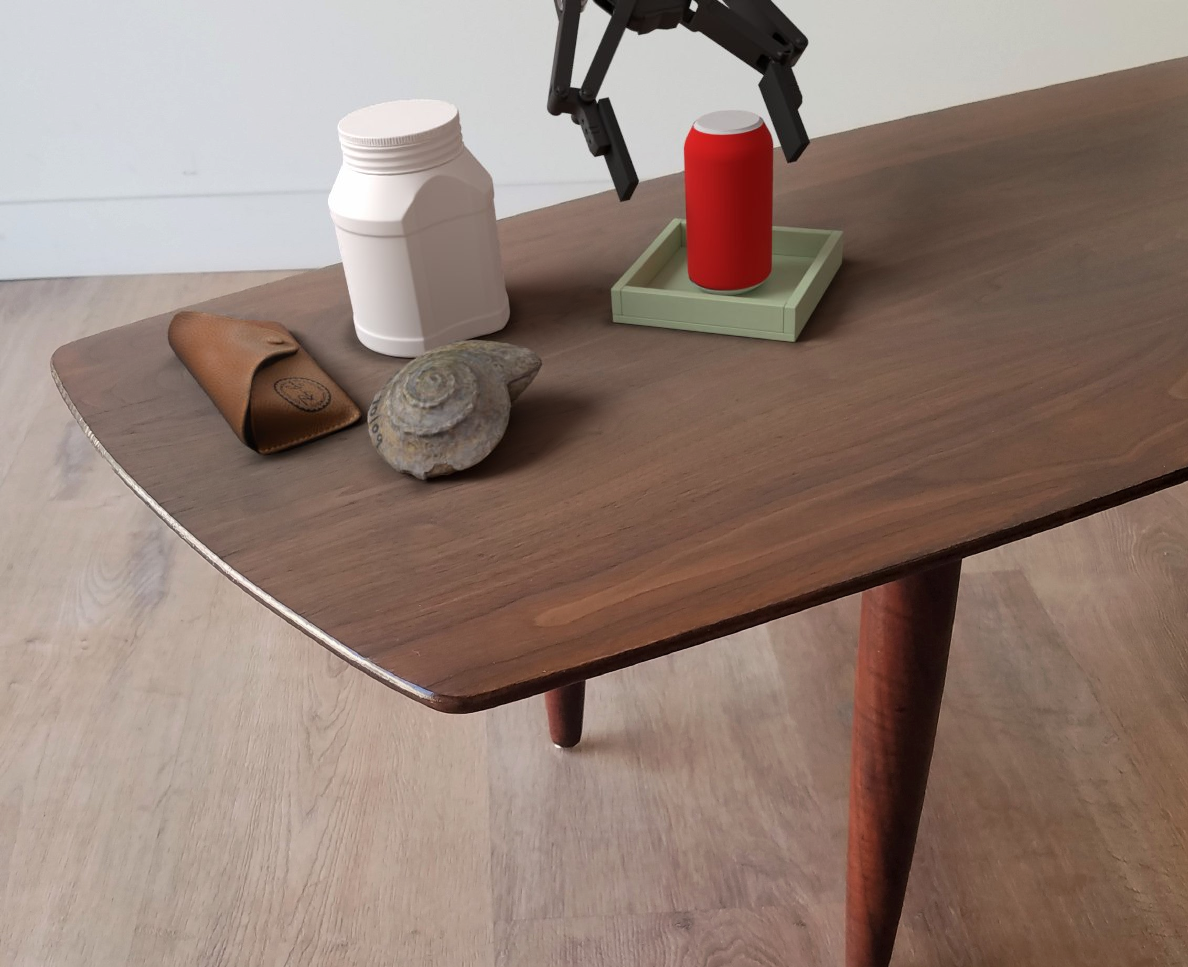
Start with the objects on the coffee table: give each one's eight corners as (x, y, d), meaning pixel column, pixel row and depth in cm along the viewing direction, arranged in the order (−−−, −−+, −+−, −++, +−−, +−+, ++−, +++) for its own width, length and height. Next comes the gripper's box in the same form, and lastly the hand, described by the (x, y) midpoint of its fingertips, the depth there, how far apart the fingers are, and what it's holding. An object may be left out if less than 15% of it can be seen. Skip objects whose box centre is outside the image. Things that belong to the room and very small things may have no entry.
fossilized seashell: (339, 407, 79) (361, 310, 75) (478, 404, 85) (506, 314, 81) (411, 505, 73) (440, 405, 69) (555, 494, 79) (589, 401, 75)
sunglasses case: (372, 412, 80) (303, 348, 76) (298, 489, 80) (225, 431, 76) (279, 320, 93) (215, 260, 88) (215, 387, 93) (148, 331, 88)
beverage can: (678, 275, 93) (672, 114, 86) (755, 261, 94) (756, 101, 87) (702, 307, 89) (697, 139, 81) (783, 293, 89) (786, 126, 82)
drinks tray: (842, 263, 94) (843, 230, 93) (794, 342, 85) (795, 307, 83) (675, 249, 99) (674, 217, 97) (612, 322, 89) (610, 289, 88)
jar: (467, 280, 97) (437, 84, 88) (532, 319, 91) (507, 111, 82) (336, 326, 92) (290, 123, 83) (395, 370, 86) (352, 155, 77)
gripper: (752, -80, 97) (844, 163, 95) (453, -29, 91) (545, 233, 89) (787, -152, 90) (887, 110, 88) (464, -102, 83) (565, 182, 81)
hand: (716, 172), depth 88 cm, fingers open, 13 cm apart
